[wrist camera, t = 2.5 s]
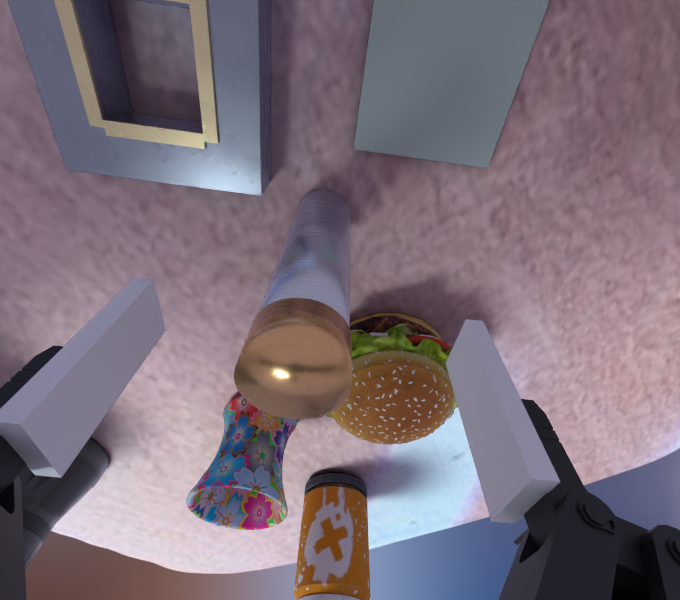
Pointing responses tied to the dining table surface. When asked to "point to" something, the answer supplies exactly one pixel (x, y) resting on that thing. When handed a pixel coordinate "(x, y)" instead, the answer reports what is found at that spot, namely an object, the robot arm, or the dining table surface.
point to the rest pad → (443, 76)
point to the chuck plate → (146, 130)
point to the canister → (333, 540)
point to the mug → (245, 471)
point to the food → (396, 380)
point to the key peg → (304, 318)
